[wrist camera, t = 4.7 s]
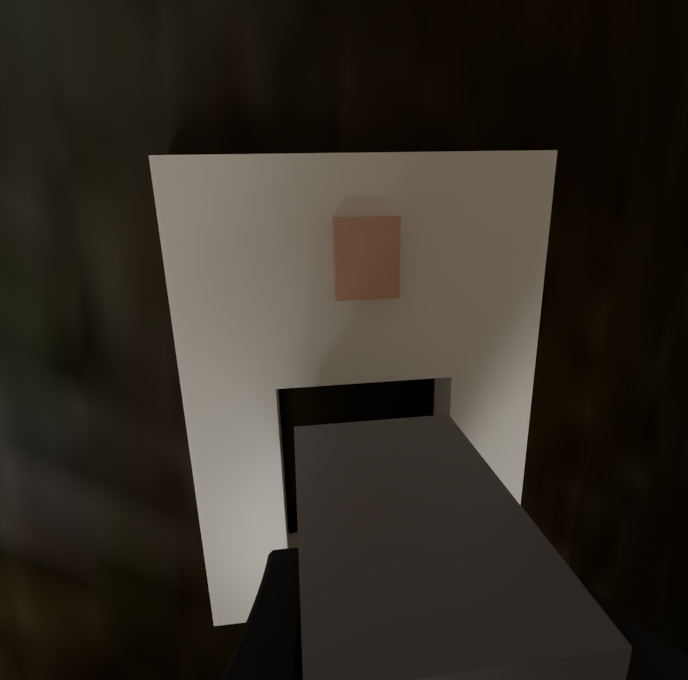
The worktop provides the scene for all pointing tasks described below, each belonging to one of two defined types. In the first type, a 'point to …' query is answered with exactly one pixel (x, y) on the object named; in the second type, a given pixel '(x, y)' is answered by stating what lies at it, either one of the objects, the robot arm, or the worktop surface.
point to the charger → (432, 565)
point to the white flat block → (343, 312)
